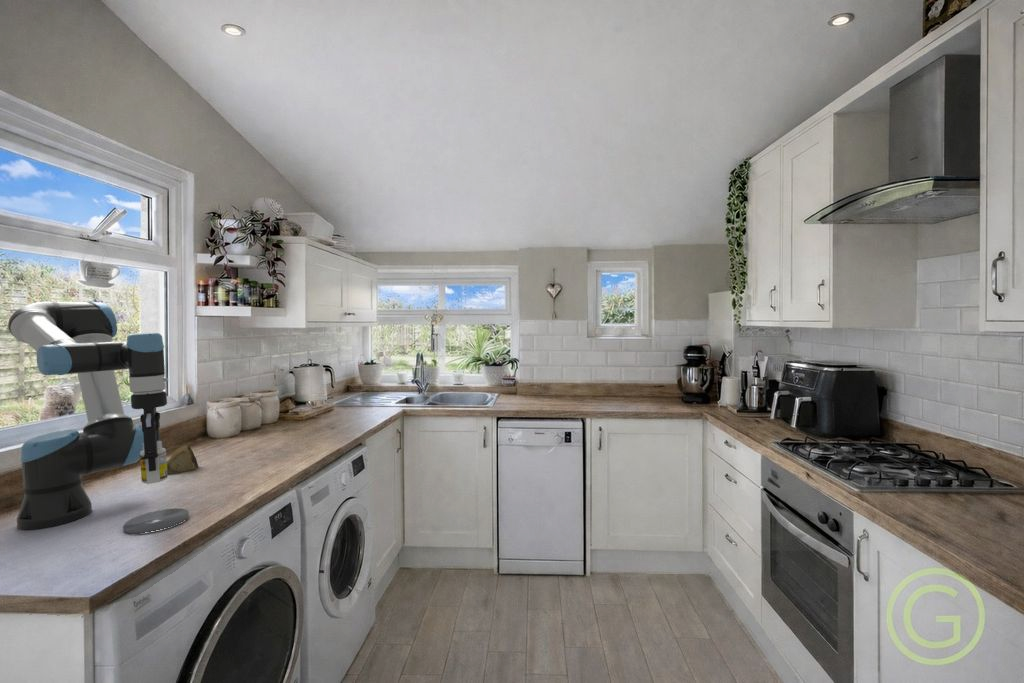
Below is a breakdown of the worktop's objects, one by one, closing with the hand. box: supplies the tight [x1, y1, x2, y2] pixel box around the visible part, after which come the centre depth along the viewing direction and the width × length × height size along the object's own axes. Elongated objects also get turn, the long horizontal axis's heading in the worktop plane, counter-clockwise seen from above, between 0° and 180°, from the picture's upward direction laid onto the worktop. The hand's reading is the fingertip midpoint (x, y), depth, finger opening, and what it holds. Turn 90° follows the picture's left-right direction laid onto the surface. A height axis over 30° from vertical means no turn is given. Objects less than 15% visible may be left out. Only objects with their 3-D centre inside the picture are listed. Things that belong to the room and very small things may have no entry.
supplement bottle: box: [139, 440, 168, 484], centre depth 129 cm, size 6×6×10 cm
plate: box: [122, 507, 190, 535], centre depth 130 cm, size 14×14×1 cm
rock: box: [167, 445, 199, 475], centre depth 178 cm, size 10×8×10 cm
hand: (154, 479), depth 129 cm, fingers closed on supplement bottle, 6 cm apart
